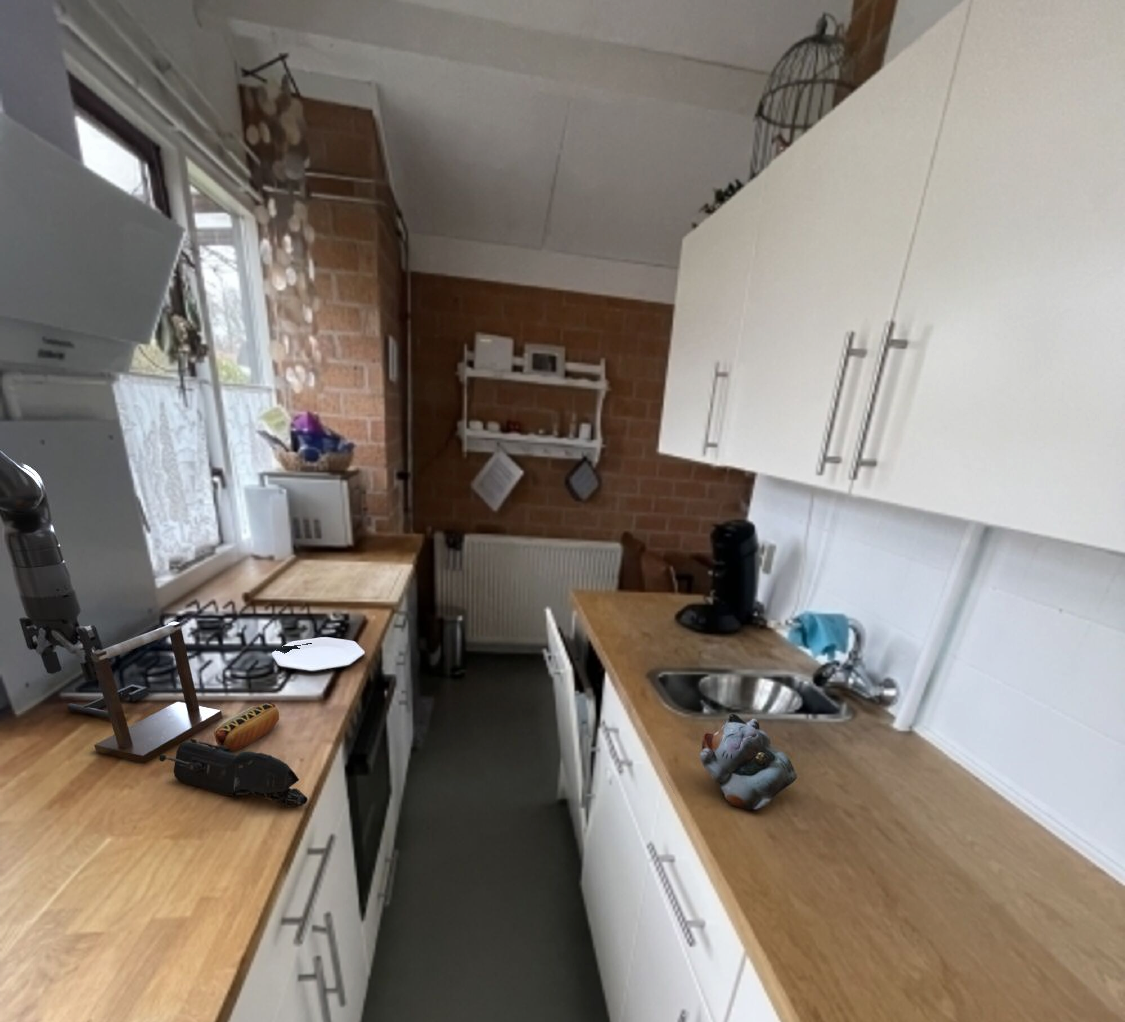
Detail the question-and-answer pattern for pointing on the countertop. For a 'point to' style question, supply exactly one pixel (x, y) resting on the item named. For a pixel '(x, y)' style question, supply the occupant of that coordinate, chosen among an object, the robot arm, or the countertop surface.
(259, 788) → the black toy vehicle
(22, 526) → the robot arm
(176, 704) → the rail stand
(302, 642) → the plate
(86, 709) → the hanger
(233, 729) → the hot dog
